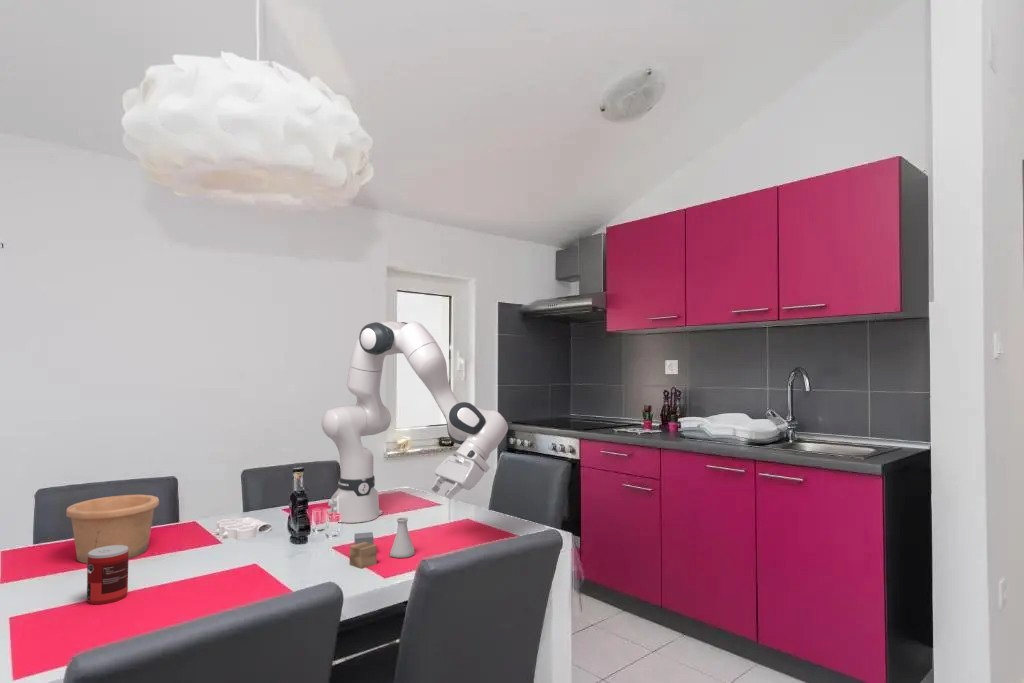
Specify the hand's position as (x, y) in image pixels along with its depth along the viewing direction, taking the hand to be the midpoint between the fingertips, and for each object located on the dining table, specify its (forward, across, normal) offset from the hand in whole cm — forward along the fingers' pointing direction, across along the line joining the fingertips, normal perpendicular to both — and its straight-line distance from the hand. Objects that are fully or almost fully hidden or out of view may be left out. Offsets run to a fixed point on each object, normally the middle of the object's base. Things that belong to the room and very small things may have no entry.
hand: (440, 494), depth 174 cm
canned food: (+68, -7, -46) cm, 82 cm away
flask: (+19, 0, +3) cm, 20 cm away
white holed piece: (+45, -48, -22) cm, 69 cm away
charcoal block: (+25, -7, -3) cm, 27 cm away
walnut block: (+28, +2, -6) cm, 28 cm away
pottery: (+68, -44, -46) cm, 93 cm away
